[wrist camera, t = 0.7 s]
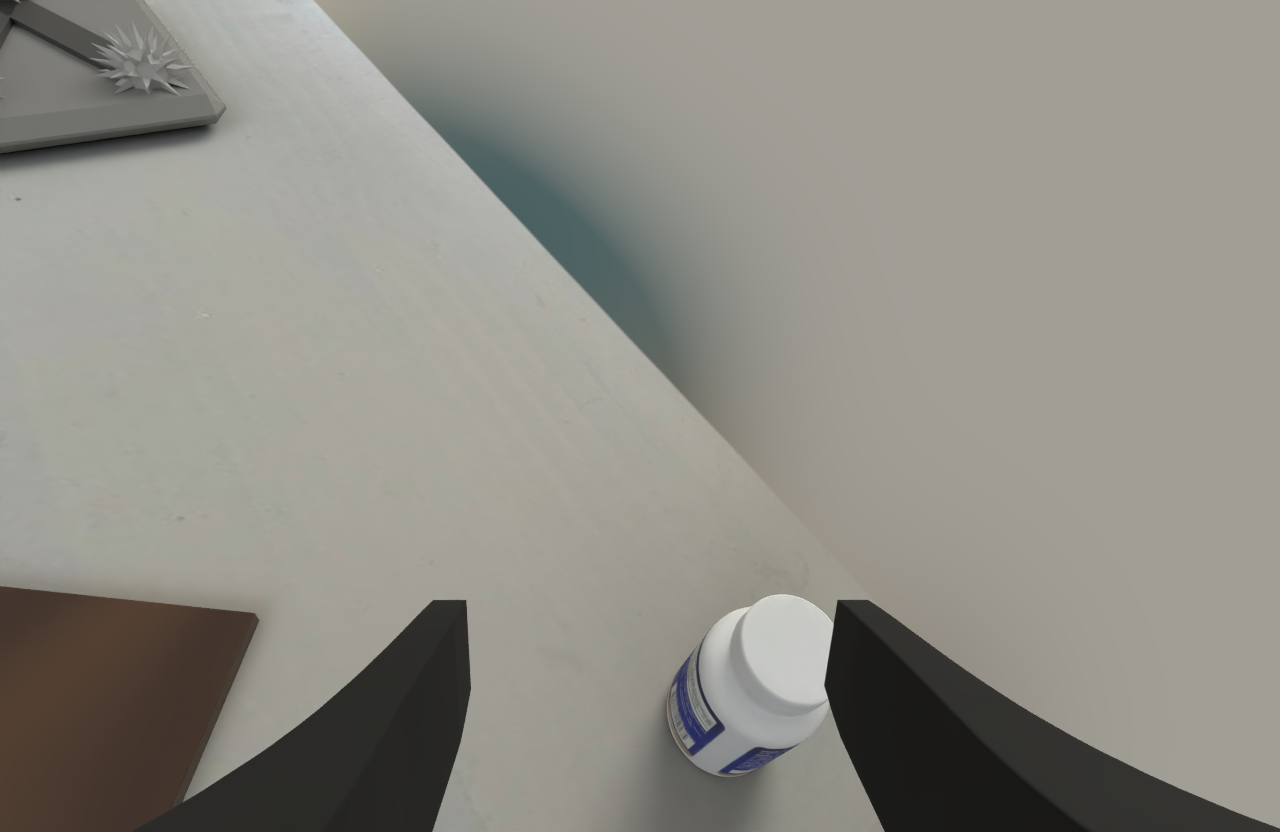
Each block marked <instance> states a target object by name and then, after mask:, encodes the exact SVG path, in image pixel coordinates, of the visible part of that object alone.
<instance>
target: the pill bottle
mask: <svg viewBox="0 0 1280 832" xmlns="http://www.w3.org/2000/svg"><path fill="white" fill-rule="evenodd" d="M833 626H834V624H833V623H832V621H831V620H830V619H829V618H828V617H827V615H826V614H825V613H824V612H822V611H821V610H820V609H819V608H818V607H816V606H815V605H813V604H812V603H810V602H808V601H807V600H805V599H802V598H799V597H796V596H792V595H784V594H779V595H772V596H768V597H765V598H763V599H761V600H759V601H758V602H756V603H755V604H754V605H753V606H752V607H745V608H741V609H738V610H735V611H733V612H731V613H729V614H727V615H726V616H724V617H723V618H721V619H720V620H719V621H718V622H717V623H716V624H715V625H714V626H713V627H712V628H711V629H710V630H709V632H708V633H707V634H706V636H705V637H704V638H703V639H702V641H701V642H700V643H699V644H698V646H697V647H696V648H695V650H694V651H693V652H692V654H691V655H690V656H689V657H688V659H687V660H686V661H685V663H684V664H683V665H682V667H681V668H680V669H679V671H678V672H677V674H676V675H675V677H674V679H673V680H672V683H671V685H670V688H669V692H668V697H667V718H668V723H669V727H670V730H671V733H672V735H673V737H674V739H675V741H676V743H677V745H678V746H679V748H680V749H681V751H682V752H683V753H684V754H685V755H686V757H687V758H688V759H689V760H690V761H691V762H693V763H694V764H695V765H696V766H698V767H699V768H700V769H702V770H704V771H706V772H708V773H711V774H714V775H717V776H722V777H737V776H742V775H745V774H748V773H750V772H752V771H754V770H756V769H758V768H760V767H761V766H763V765H765V764H766V763H768V762H770V761H772V760H773V759H775V758H777V757H778V756H780V755H782V754H783V753H785V752H787V751H788V750H790V749H792V748H793V747H795V746H797V745H798V744H800V743H802V742H803V741H805V740H806V739H807V738H808V737H810V736H811V735H812V734H813V733H814V732H815V731H816V730H817V729H818V728H819V726H820V725H821V723H822V722H823V720H824V718H825V716H826V714H827V711H828V709H829V705H830V703H829V700H828V697H827V694H826V690H825V687H824V682H825V676H826V670H827V663H828V657H829V651H830V645H831V638H832V632H833Z"/></svg>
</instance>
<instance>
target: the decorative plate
mask: <svg viewBox="0 0 1280 832" xmlns="http://www.w3.org/2000/svg"><path fill="white" fill-rule="evenodd" d="M184 50H185V49H184ZM225 110H226V106H225V104H224V103H223V102H222V100H221V99H220V98H219V97H218V95H217V94H216V93H215V91H214V90H213V89H212V88H211V86H210V85H209V84H208V82H207V81H206V80H205V78H204V77H203V76H202V75H201V73H200V72H199V71H198V69H197V68H196V67H195V66H194V64H193V63H192V62H191V60H190V59H189V58H188V56H187V55H186V54H185V53H184V51H183V50H182V49H181V47H180V46H179V45H178V44H177V42H176V41H175V40H174V38H173V37H172V36H171V34H170V33H169V32H168V31H167V29H166V28H165V27H164V25H163V24H162V23H161V22H160V20H159V19H158V18H157V16H156V15H155V14H154V12H153V11H152V10H151V9H150V7H149V6H148V5H147V3H146V2H145V1H144V0H0V153H7V152H14V151H21V150H29V149H36V148H43V147H50V146H57V145H64V144H72V143H79V142H86V141H93V140H100V139H107V138H114V137H122V136H129V135H136V134H143V133H150V132H157V131H165V130H172V129H179V128H186V127H193V126H200V125H207V124H215V123H216V122H217V121H218V120H219V118H220V117H221V115H222V114H223V113H224V111H225Z"/></svg>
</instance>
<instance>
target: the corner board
mask: <svg viewBox="0 0 1280 832" xmlns="http://www.w3.org/2000/svg"><path fill="white" fill-rule="evenodd" d="M258 622H259V619H258V617H257V616H256V614H255V613H248V612H239V611H229V610H220V609H210V608H201V607H191V606H182V605H173V604H163V603H154V602H144V601H135V600H125V599H116V598H106V597H97V596H87V595H78V594H68V593H59V592H50V591H40V590H31V589H21V588H12V587H2V586H0V832H131V831H133V830H135V829H137V828H139V827H140V826H142V825H144V824H146V823H148V822H149V821H151V820H153V819H155V818H157V817H159V816H160V815H162V814H164V813H166V812H167V811H169V810H171V809H173V808H174V807H176V806H178V805H179V804H181V803H182V801H183V798H184V796H185V794H186V791H187V789H188V786H189V784H190V782H191V779H192V777H193V775H194V772H195V770H196V768H197V765H198V763H199V761H200V758H201V756H202V754H203V751H204V749H205V746H206V744H207V742H208V739H209V737H210V735H211V732H212V730H213V728H214V725H215V723H216V721H217V718H218V716H219V714H220V711H221V709H222V706H223V704H224V702H225V699H226V697H227V695H228V692H229V690H230V688H231V685H232V683H233V681H234V678H235V676H236V674H237V671H238V669H239V666H240V664H241V662H242V659H243V657H244V655H245V652H246V650H247V648H248V645H249V643H250V641H251V638H252V636H253V634H254V631H255V629H256V626H257V624H258Z"/></svg>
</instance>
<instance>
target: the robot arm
mask: <svg viewBox="0 0 1280 832" xmlns="http://www.w3.org/2000/svg"><path fill="white" fill-rule="evenodd" d="M824 687H825V690H826V694H827V697H828V700H829V703H830V707H831V710H832V713H833V716H834V719H835V722H836V725H837V728H838V731H839V734H840V736H841V739H842V741H843V743H844V745H845V748H846V750H847V752H848V754H849V756H850V759H851V761H852V763H853V765H854V767H855V769H856V772H857V774H858V776H859V778H860V780H861V782H862V784H863V787H864V789H865V791H866V793H867V795H868V797H869V799H870V801H871V803H872V806H873V808H874V810H875V812H876V814H877V816H878V818H879V820H880V823H881V825H882V827H883V829H884V831H885V832H1280V829H1279V828H1276V827H1274V826H1271V825H1269V824H1266V823H1263V822H1260V821H1258V820H1255V819H1252V818H1249V817H1247V816H1244V815H1241V814H1239V813H1236V812H1234V811H1231V810H1229V809H1227V808H1224V807H1222V806H1219V805H1217V804H1215V803H1212V802H1210V801H1207V800H1205V799H1203V798H1201V797H1198V796H1196V795H1193V794H1191V793H1188V792H1186V791H1184V790H1181V789H1179V788H1177V787H1175V786H1173V785H1170V784H1168V783H1166V782H1164V781H1162V780H1159V779H1157V778H1155V777H1153V776H1150V775H1148V774H1146V773H1144V772H1142V771H1140V770H1138V769H1136V768H1134V767H1132V766H1130V765H1128V764H1126V763H1124V762H1122V761H1120V760H1118V759H1116V758H1113V757H1111V756H1109V755H1107V754H1105V753H1103V752H1101V751H1099V750H1097V749H1095V748H1093V747H1092V746H1090V745H1088V744H1086V743H1084V742H1082V741H1080V740H1078V739H1076V738H1075V737H1073V736H1071V735H1069V734H1067V733H1066V732H1064V731H1062V730H1061V729H1059V728H1057V727H1055V726H1053V725H1052V724H1050V723H1048V722H1046V721H1045V720H1043V719H1041V718H1039V717H1038V716H1036V715H1034V714H1032V713H1031V712H1029V711H1027V710H1026V709H1024V708H1023V707H1021V706H1019V705H1018V704H1016V703H1015V702H1013V701H1011V700H1010V699H1008V698H1007V697H1005V696H1004V695H1002V694H1001V693H999V692H998V691H996V690H995V689H993V688H992V687H990V686H988V685H987V684H985V683H984V682H982V681H981V680H979V679H978V678H976V677H975V676H974V675H972V674H971V673H969V672H968V671H966V670H965V669H963V668H962V667H960V666H959V665H958V664H956V663H955V662H953V661H952V660H950V659H949V658H948V657H946V656H945V655H944V654H942V653H941V652H940V651H938V650H937V649H935V648H934V647H933V646H931V645H930V644H929V643H927V642H926V641H924V640H923V639H922V638H920V637H919V636H918V635H916V634H915V633H914V632H912V631H911V630H910V629H908V628H907V627H906V626H904V625H903V624H902V623H900V622H899V621H898V620H896V619H895V618H893V617H892V616H891V615H889V614H888V613H886V612H885V611H884V610H882V609H881V608H879V607H878V606H876V605H875V604H873V603H872V602H870V601H869V600H838V601H837V607H836V614H835V620H834V626H833V632H832V638H831V645H830V651H829V657H828V663H827V670H826V676H825V682H824ZM470 691H471V682H470V663H469V644H468V624H467V605H466V600H433V601H432V602H431V603H430V604H429V605H428V606H427V607H426V608H425V609H424V610H423V611H422V612H421V613H420V614H419V615H418V616H417V617H416V618H415V619H414V620H413V621H412V622H411V623H410V624H409V625H408V626H407V627H406V628H405V629H404V630H403V631H402V632H401V633H400V634H399V635H398V636H397V637H396V638H395V639H394V640H393V641H392V642H391V643H390V644H389V645H388V646H387V647H386V648H385V649H384V650H383V651H382V652H381V653H380V654H379V655H378V656H377V657H376V658H375V659H374V660H373V661H372V662H371V663H370V664H369V665H368V666H367V667H366V668H365V669H364V670H363V671H362V672H360V673H359V674H358V675H357V676H356V677H355V678H354V679H353V680H352V681H351V682H349V683H348V684H347V685H346V686H345V687H344V688H343V689H341V690H340V691H339V692H338V693H337V694H336V695H335V696H333V697H332V698H331V699H330V700H329V701H328V702H327V703H325V704H324V705H323V706H322V707H321V708H320V709H318V710H317V711H316V712H315V713H314V714H312V715H311V716H310V717H309V718H307V719H306V720H305V721H303V722H302V723H301V724H300V725H298V726H297V727H296V728H294V729H293V730H292V731H290V732H289V733H287V734H286V735H285V736H283V737H282V738H281V739H279V740H278V741H277V742H275V743H274V744H273V745H271V746H270V747H268V748H267V749H266V750H264V751H263V752H261V753H260V754H258V755H257V756H255V757H254V758H252V759H251V760H249V761H248V762H246V763H244V764H243V765H241V766H240V767H238V768H237V769H235V770H234V771H232V772H231V773H229V774H228V775H226V776H225V777H223V778H221V779H220V780H218V781H217V782H215V783H214V784H212V785H211V786H209V787H208V788H206V789H205V790H203V791H201V792H200V793H198V794H196V795H195V796H193V797H191V798H190V799H188V800H186V801H184V802H183V803H181V804H179V805H178V806H176V807H174V808H173V809H171V810H169V811H167V812H166V813H164V814H162V815H160V816H159V817H157V818H155V819H153V820H151V821H149V822H148V823H146V824H144V825H142V826H140V827H139V828H137V829H135V830H133V831H131V832H432V831H433V828H434V825H435V821H436V818H437V815H438V812H439V809H440V806H441V803H442V800H443V796H444V793H445V790H446V787H447V784H448V781H449V777H450V774H451V771H452V768H453V765H454V762H455V758H456V755H457V752H458V749H459V745H460V742H461V737H462V732H463V728H464V723H465V718H466V712H467V707H468V702H469V696H470Z"/></svg>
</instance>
